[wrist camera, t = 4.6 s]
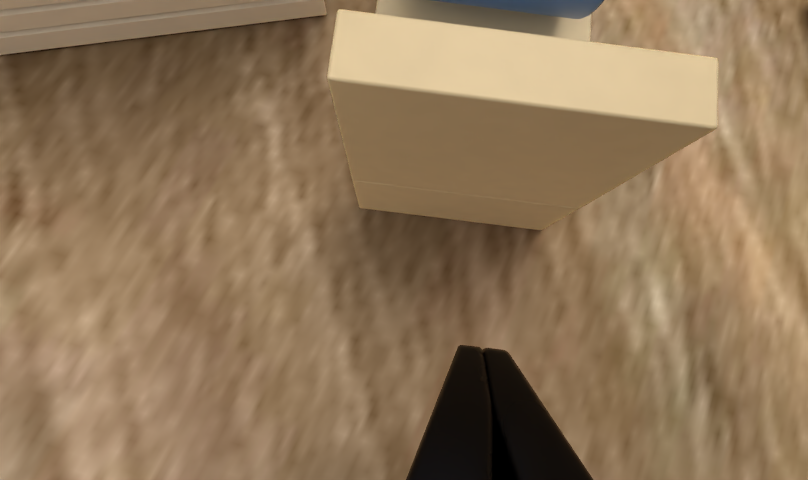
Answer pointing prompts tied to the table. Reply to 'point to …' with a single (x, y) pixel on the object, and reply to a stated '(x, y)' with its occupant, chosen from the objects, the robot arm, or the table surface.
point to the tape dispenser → (505, 108)
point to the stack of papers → (131, 19)
